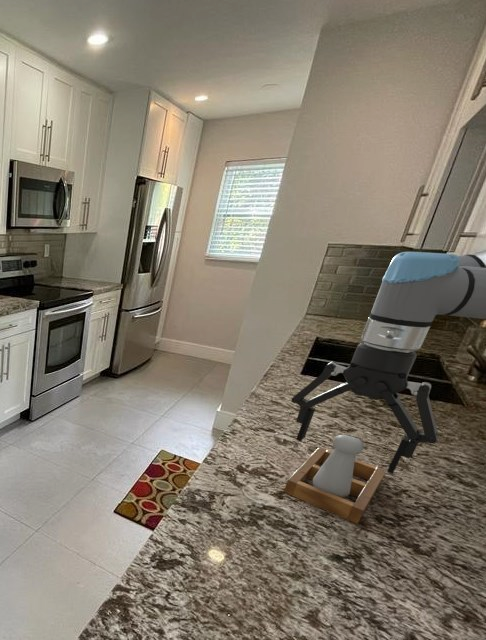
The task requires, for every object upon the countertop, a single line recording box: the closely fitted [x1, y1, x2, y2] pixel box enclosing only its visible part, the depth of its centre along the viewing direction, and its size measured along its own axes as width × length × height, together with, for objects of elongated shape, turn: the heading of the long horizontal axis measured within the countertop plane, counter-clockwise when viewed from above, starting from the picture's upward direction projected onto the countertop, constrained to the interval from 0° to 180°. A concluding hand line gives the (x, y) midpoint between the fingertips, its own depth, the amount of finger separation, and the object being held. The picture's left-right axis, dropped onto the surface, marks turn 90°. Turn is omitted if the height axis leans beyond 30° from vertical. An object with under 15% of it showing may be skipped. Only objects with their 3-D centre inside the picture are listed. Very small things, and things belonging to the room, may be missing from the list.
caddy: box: [283, 446, 387, 525], centre depth 84 cm, size 12×22×3 cm, turn 129°
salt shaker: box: [312, 434, 365, 499], centre depth 79 cm, size 6×6×13 cm
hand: (342, 453), depth 78 cm, fingers open, 13 cm apart
